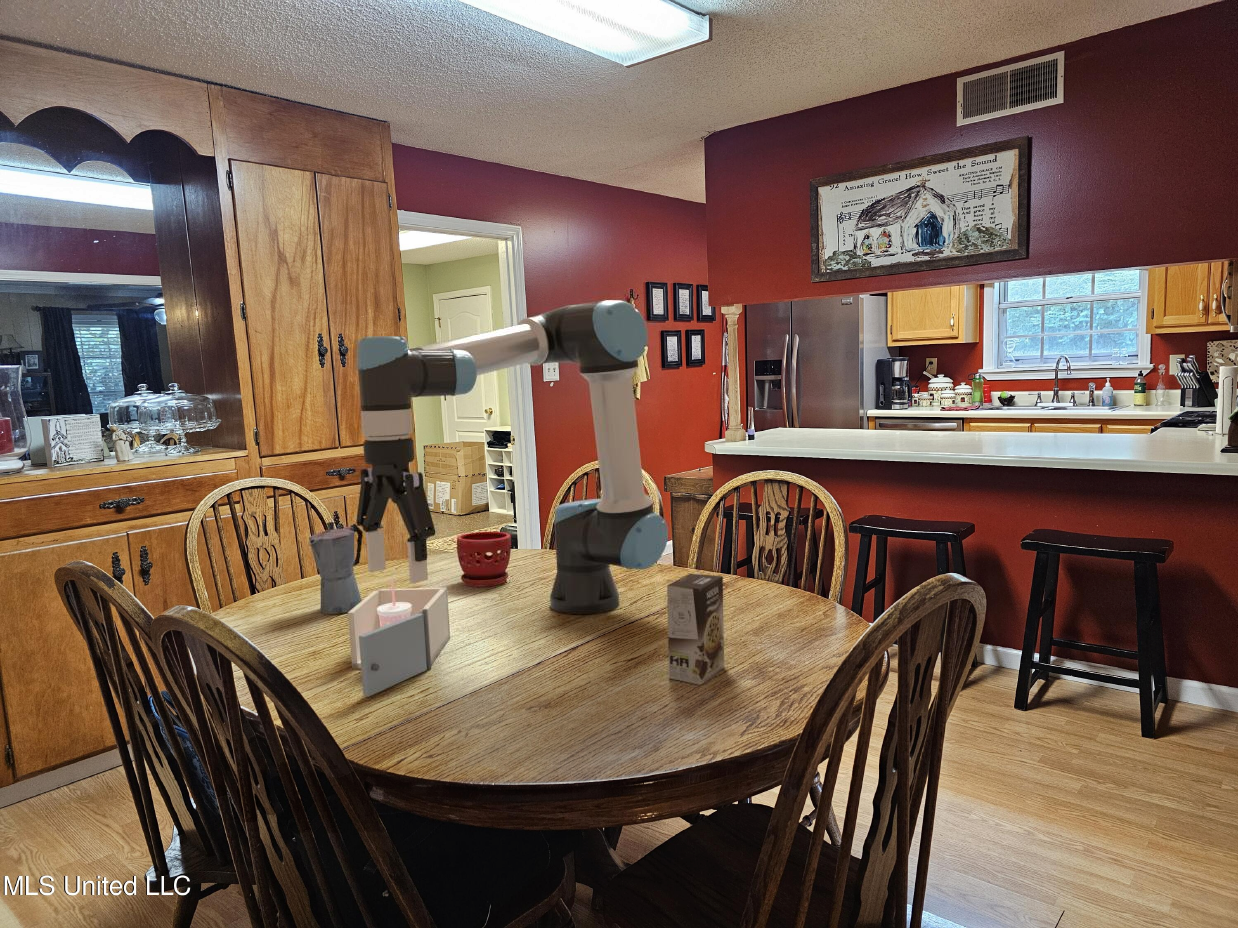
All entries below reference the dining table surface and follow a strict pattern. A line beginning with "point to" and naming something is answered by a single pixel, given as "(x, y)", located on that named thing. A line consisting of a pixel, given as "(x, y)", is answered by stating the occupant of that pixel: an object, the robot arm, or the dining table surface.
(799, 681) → the dining table surface
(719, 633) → the coffee box
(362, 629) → the cubby
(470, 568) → the plant pot
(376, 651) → the door
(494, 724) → the dining table surface
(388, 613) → the beverage cup
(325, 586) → the moka pot
